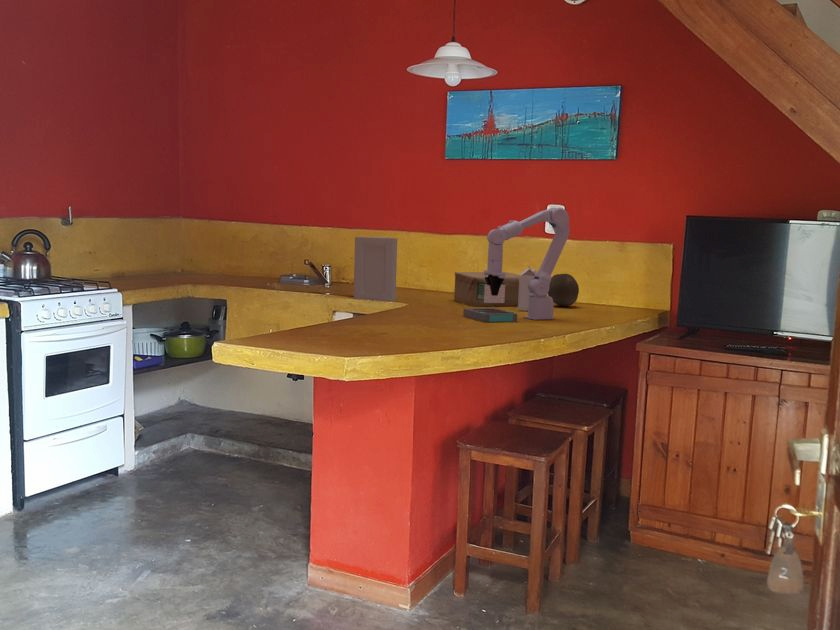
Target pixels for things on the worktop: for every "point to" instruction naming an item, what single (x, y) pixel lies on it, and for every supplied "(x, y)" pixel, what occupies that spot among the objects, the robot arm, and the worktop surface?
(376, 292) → the grooved grey upright panel
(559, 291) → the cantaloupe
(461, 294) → the paper package
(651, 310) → the worktop surface
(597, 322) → the worktop surface
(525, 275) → the milk carton
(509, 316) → the slot rack
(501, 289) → the grey slab
